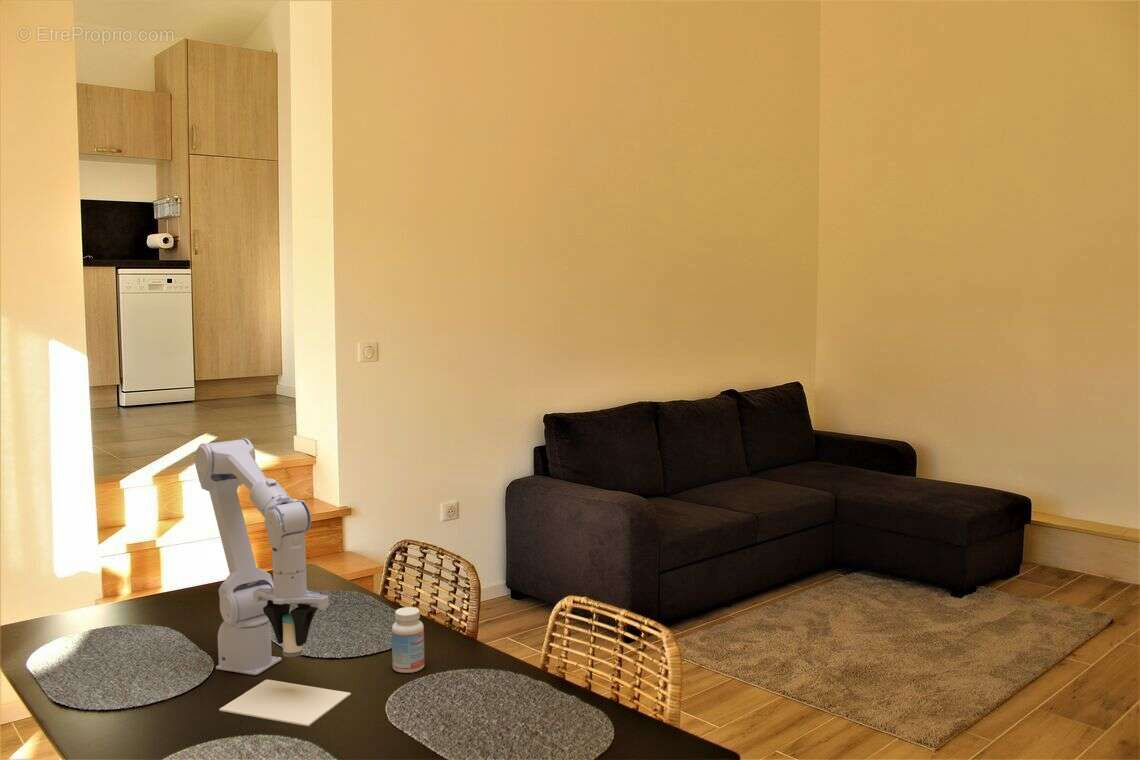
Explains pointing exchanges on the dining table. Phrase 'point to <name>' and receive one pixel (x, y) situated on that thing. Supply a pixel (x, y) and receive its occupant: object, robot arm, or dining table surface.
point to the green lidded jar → (290, 637)
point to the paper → (286, 702)
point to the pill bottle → (407, 641)
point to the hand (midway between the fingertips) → (292, 642)
